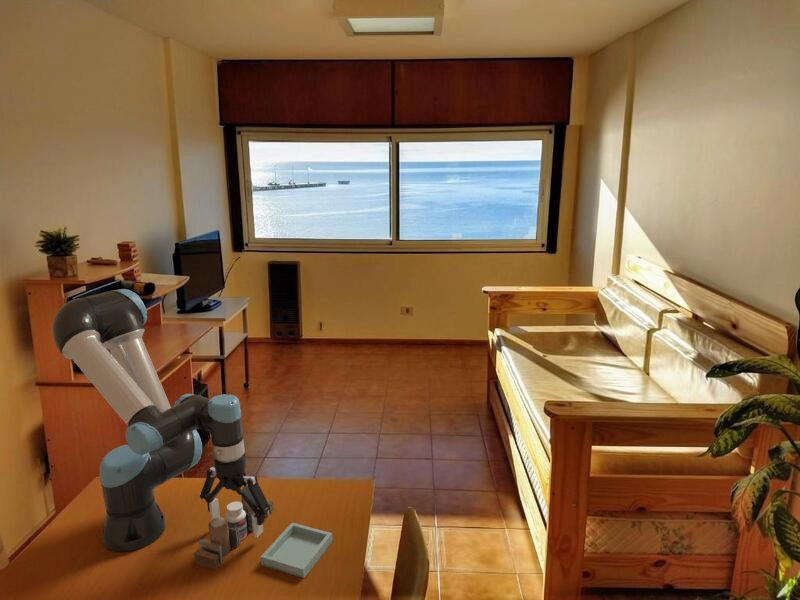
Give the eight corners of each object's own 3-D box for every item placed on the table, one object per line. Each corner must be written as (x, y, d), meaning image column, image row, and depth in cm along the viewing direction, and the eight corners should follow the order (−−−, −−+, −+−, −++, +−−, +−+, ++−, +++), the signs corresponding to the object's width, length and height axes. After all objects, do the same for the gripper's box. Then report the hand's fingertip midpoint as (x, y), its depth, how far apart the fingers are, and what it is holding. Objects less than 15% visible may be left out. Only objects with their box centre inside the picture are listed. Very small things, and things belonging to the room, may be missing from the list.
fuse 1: (207, 554, 144) (204, 524, 142) (219, 543, 148) (216, 513, 146) (222, 559, 142) (219, 528, 140) (234, 547, 147) (231, 517, 144)
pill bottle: (241, 543, 148) (238, 513, 146) (223, 540, 149) (220, 511, 147) (251, 530, 153) (248, 501, 151) (232, 527, 154) (229, 498, 152)
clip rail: (195, 563, 141) (193, 546, 140) (256, 506, 163) (254, 490, 162) (215, 569, 139) (213, 552, 138) (273, 510, 161) (272, 495, 160)
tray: (261, 565, 140) (260, 556, 140) (292, 530, 153) (292, 522, 152) (304, 578, 136) (303, 569, 135) (332, 541, 148) (332, 533, 148)
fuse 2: (239, 523, 156) (237, 495, 153) (250, 514, 160) (247, 486, 158) (254, 527, 154) (251, 499, 152) (264, 517, 158) (261, 489, 156)
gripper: (179, 453, 146) (189, 526, 152) (262, 472, 137) (269, 548, 142) (200, 440, 153) (208, 509, 158) (279, 457, 144) (285, 530, 149)
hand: (237, 528), depth 150 cm, fingers open, 13 cm apart
